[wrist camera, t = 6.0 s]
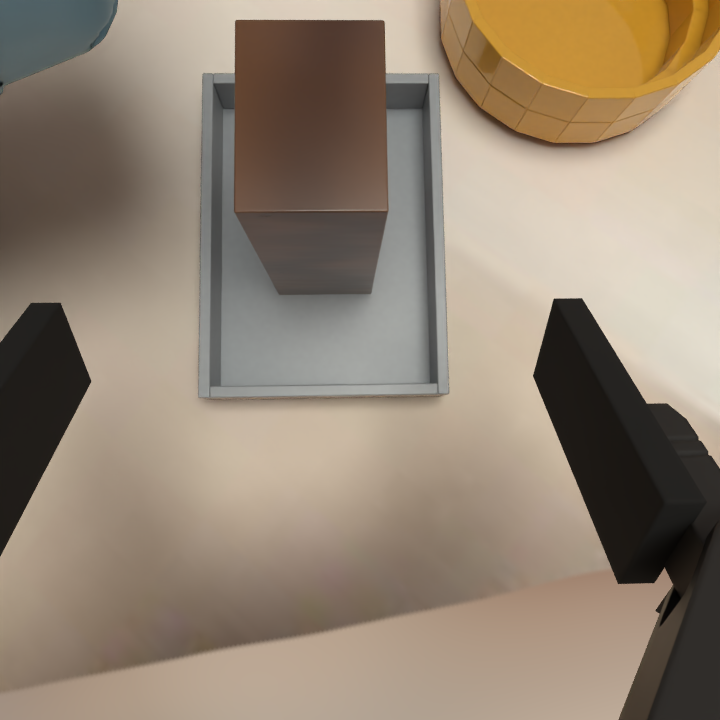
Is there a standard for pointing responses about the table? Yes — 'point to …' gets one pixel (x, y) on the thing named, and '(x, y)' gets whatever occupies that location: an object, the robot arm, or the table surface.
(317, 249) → the walnut block
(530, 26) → the bowl
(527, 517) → the table surface
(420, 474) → the table surface
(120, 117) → the table surface
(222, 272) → the tin
